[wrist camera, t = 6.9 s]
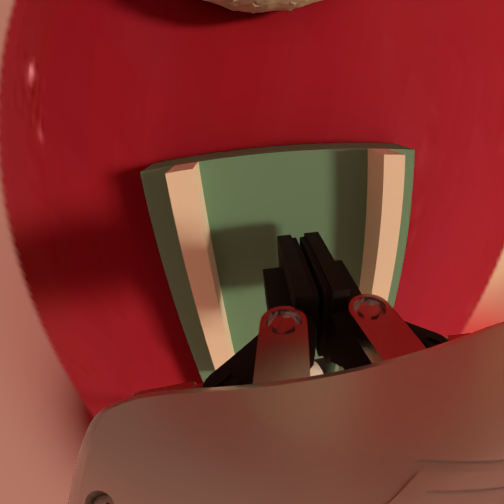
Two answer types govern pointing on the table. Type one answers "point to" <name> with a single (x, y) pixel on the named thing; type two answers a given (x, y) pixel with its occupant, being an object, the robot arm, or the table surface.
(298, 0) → the sea urchin shell
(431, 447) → the robot arm
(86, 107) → the table surface
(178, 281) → the mat
